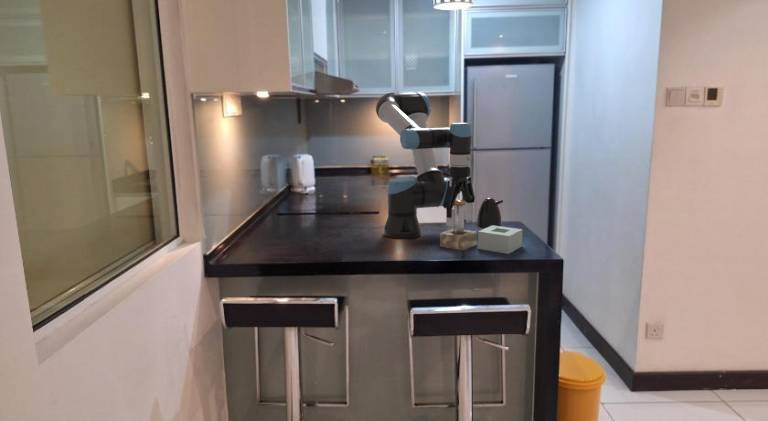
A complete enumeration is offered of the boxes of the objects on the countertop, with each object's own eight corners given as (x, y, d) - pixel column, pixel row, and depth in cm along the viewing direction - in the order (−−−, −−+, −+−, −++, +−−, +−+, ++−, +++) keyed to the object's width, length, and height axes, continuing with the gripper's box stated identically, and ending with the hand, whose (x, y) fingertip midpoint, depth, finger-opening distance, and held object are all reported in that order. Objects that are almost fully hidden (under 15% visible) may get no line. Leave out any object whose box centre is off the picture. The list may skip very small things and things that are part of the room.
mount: (440, 246, 193) (440, 233, 192) (453, 240, 201) (453, 228, 200) (464, 250, 187) (464, 237, 186) (476, 244, 195) (476, 231, 194)
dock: (477, 248, 189) (478, 231, 188) (492, 241, 199) (492, 225, 198) (508, 253, 182) (509, 236, 181) (521, 246, 192) (522, 229, 191)
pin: (450, 245, 194) (451, 200, 190) (456, 243, 197) (456, 199, 194) (460, 247, 191) (461, 202, 188) (466, 245, 195) (467, 200, 191)
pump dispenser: (502, 238, 204) (503, 200, 201) (475, 237, 206) (476, 199, 203) (501, 231, 214) (503, 195, 211) (476, 231, 216) (477, 195, 213)
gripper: (452, 169, 176) (451, 230, 180) (484, 163, 196) (483, 217, 200) (433, 168, 181) (433, 227, 185) (466, 162, 200) (465, 215, 204)
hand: (459, 222), depth 192 cm, fingers open, 13 cm apart
